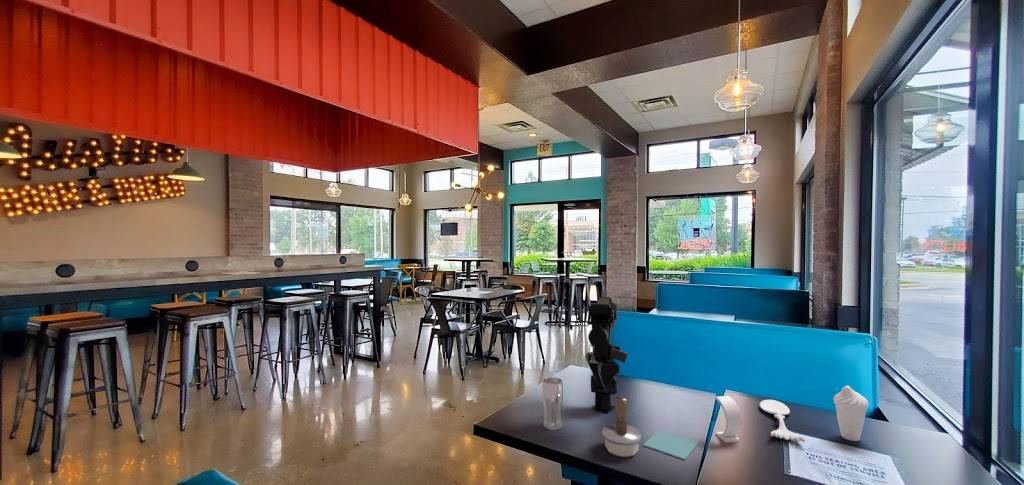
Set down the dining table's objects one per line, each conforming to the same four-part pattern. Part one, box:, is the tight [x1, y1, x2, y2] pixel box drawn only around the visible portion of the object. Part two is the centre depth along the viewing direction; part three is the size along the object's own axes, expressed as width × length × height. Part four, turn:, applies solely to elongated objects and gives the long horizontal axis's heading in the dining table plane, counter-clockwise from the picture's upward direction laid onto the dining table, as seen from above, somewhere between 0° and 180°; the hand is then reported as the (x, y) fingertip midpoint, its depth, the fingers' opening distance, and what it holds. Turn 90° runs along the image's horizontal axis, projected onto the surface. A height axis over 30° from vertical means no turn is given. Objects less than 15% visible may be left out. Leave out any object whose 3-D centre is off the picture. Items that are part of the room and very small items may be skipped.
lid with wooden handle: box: [601, 395, 642, 445], centre depth 119 cm, size 11×11×11 cm
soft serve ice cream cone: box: [832, 385, 869, 442], centre depth 125 cm, size 8×8×16 cm
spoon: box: [759, 399, 806, 443], centre depth 135 cm, size 9×32×4 cm, turn 155°
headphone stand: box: [715, 395, 743, 443], centre depth 125 cm, size 5×6×12 cm
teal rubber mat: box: [643, 429, 699, 461], centre depth 122 cm, size 12×12×1 cm
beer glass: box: [541, 376, 564, 431], centre depth 134 cm, size 7×7×15 cm
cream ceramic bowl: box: [604, 438, 640, 458], centre depth 119 cm, size 9×9×4 cm
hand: (603, 388), depth 136 cm, fingers open, 9 cm apart
